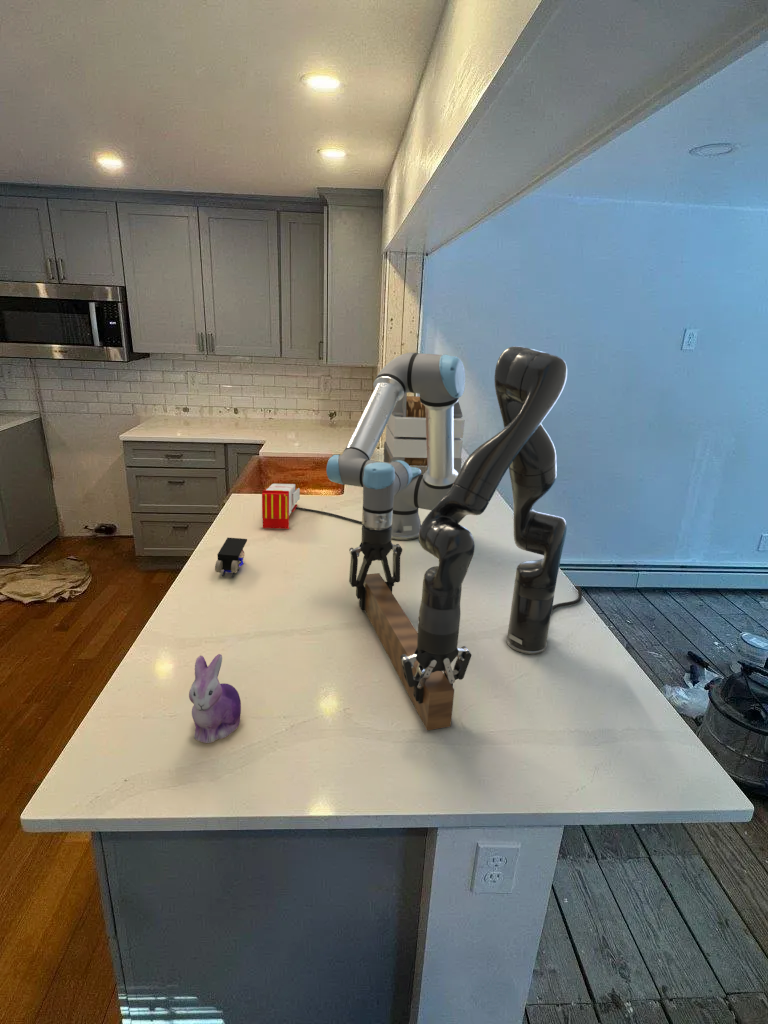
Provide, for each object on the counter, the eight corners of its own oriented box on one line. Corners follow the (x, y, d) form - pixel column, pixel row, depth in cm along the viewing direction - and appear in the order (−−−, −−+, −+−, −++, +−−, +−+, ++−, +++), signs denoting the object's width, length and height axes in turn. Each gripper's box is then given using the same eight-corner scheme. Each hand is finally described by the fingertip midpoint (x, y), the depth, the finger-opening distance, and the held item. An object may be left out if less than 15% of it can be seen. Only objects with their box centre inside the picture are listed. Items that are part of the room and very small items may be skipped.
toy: (301, 479, 224) (291, 492, 194) (301, 512, 226) (291, 530, 197) (270, 478, 223) (256, 491, 194) (271, 511, 226) (256, 529, 197)
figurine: (196, 753, 99) (190, 681, 94) (186, 717, 107) (180, 649, 102) (250, 737, 103) (246, 667, 98) (236, 703, 112) (232, 637, 107)
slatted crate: (382, 463, 289) (386, 382, 275) (445, 464, 293) (451, 384, 279) (390, 482, 257) (394, 392, 243) (460, 483, 261) (468, 394, 247)
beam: (360, 602, 152) (361, 574, 149) (378, 601, 154) (379, 572, 151) (426, 730, 107) (429, 693, 104) (450, 726, 108) (454, 689, 106)
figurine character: (238, 584, 162) (249, 557, 175) (236, 562, 158) (247, 536, 172) (215, 584, 161) (227, 556, 175) (212, 561, 158) (225, 535, 171)
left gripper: (343, 533, 135) (342, 618, 143) (417, 528, 141) (411, 610, 148) (337, 522, 142) (335, 604, 150) (407, 517, 147) (402, 596, 155)
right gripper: (408, 638, 99) (403, 717, 105) (483, 628, 103) (474, 705, 109) (395, 616, 106) (391, 692, 112) (466, 608, 110) (458, 681, 116)
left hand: (373, 607), depth 149 cm, fingers open, 6 cm apart
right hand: (432, 698), depth 110 cm, fingers closed on beam, 5 cm apart
